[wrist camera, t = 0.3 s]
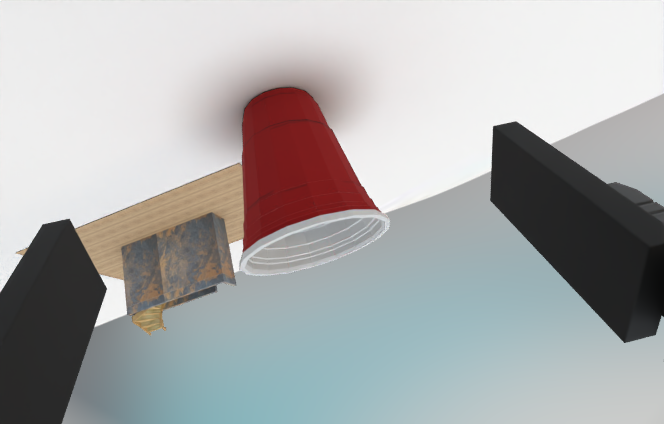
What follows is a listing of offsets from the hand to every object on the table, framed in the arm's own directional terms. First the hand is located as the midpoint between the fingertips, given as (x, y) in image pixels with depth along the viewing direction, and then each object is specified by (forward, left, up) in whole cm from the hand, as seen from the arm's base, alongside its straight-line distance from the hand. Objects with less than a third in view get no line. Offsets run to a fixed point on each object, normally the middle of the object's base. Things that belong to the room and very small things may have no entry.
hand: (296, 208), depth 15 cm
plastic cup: (+18, 0, -16) cm, 24 cm away
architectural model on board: (+35, -15, -16) cm, 41 cm away
